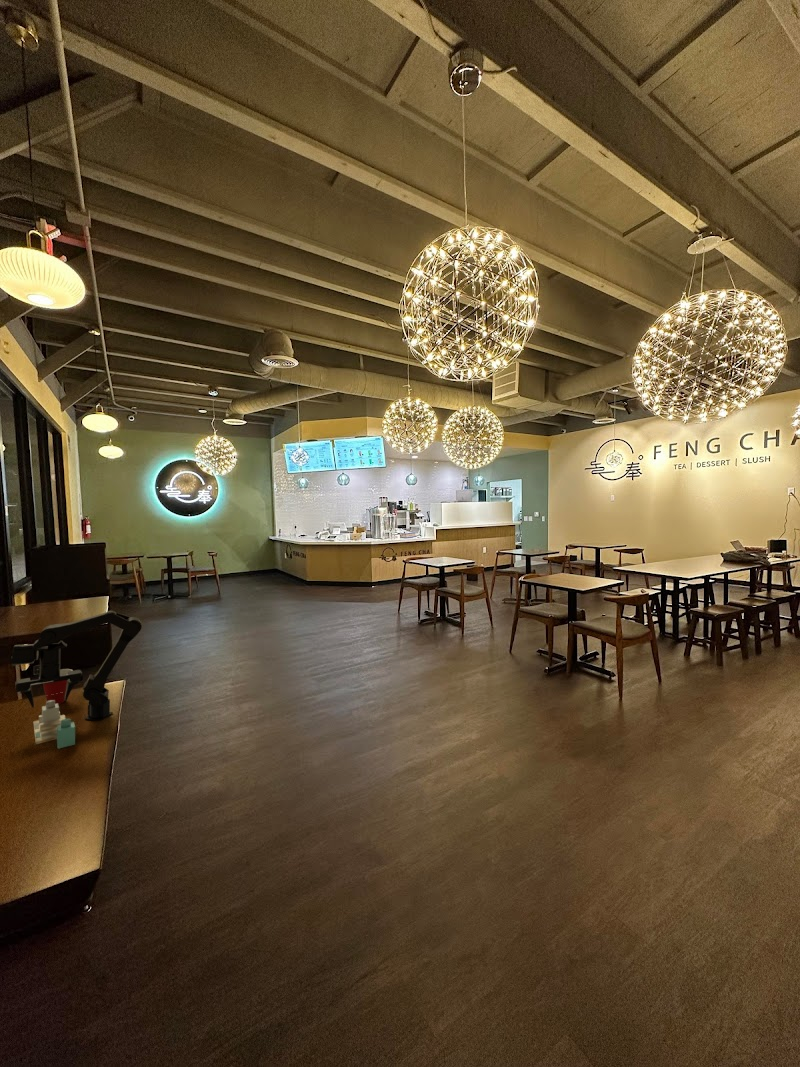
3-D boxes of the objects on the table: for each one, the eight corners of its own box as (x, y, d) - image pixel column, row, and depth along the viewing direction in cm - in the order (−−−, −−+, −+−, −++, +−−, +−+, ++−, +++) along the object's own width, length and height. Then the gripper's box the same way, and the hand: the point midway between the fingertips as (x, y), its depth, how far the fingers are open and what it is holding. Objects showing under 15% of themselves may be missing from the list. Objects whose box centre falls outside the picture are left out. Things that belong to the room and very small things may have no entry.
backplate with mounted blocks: (64, 716, 164) (64, 709, 164) (69, 735, 150) (69, 728, 150) (33, 723, 158) (33, 716, 158) (35, 744, 144) (35, 736, 144)
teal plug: (73, 739, 148) (73, 716, 148) (74, 744, 145) (75, 720, 144) (56, 743, 145) (56, 719, 145) (57, 748, 142) (58, 724, 141)
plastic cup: (39, 700, 177) (39, 671, 177) (72, 694, 184) (72, 666, 183) (37, 710, 169) (37, 679, 168) (72, 703, 175) (72, 674, 175)
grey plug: (57, 719, 160) (57, 697, 160) (58, 723, 157) (59, 701, 156) (41, 722, 157) (42, 701, 157) (42, 727, 154) (43, 705, 153)
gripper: (79, 651, 168) (78, 690, 169) (15, 660, 156) (14, 703, 156) (83, 658, 160) (82, 700, 160) (15, 668, 147) (15, 713, 148)
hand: (49, 703), depth 156 cm, fingers open, 9 cm apart
